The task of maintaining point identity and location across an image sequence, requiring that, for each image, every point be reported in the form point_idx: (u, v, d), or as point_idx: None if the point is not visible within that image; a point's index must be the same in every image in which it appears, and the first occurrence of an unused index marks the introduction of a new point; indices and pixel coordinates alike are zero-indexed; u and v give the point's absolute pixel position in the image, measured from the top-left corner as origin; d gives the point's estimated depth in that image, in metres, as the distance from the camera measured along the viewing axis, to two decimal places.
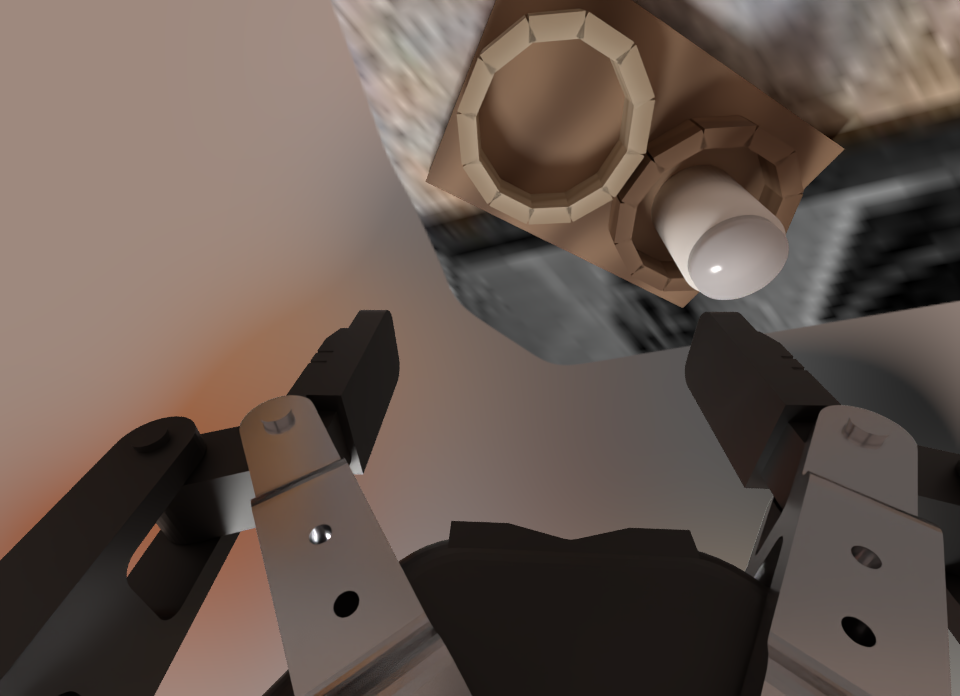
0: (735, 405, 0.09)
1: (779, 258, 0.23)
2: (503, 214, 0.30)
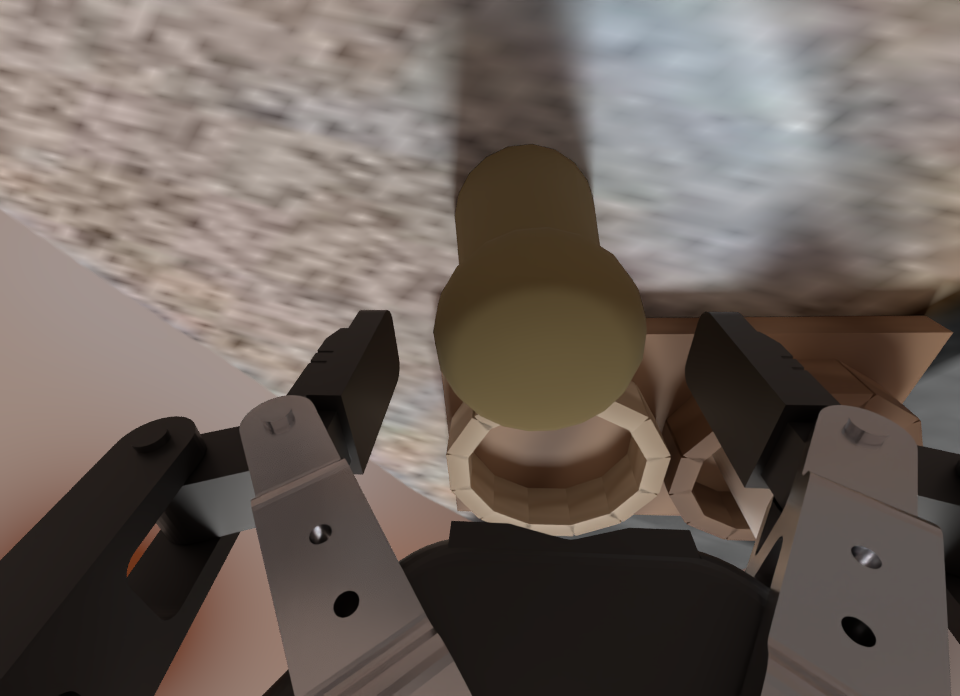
0: (735, 405, 0.09)
1: None
2: None
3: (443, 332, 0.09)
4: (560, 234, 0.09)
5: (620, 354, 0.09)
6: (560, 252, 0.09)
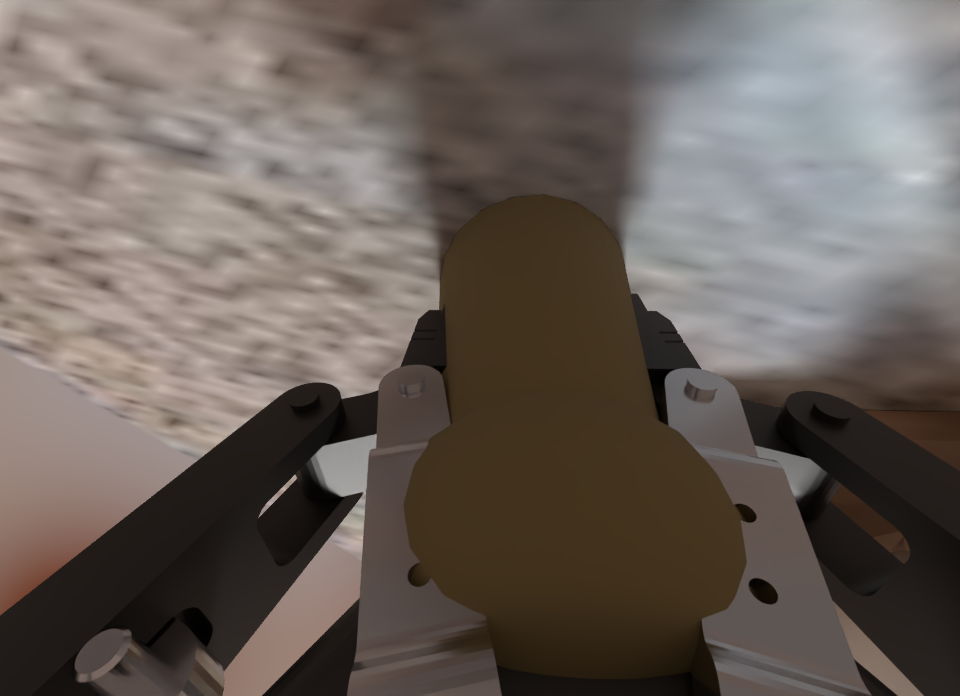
0: None
1: None
2: None
3: None
4: (610, 439, 0.05)
5: None
6: (618, 507, 0.04)
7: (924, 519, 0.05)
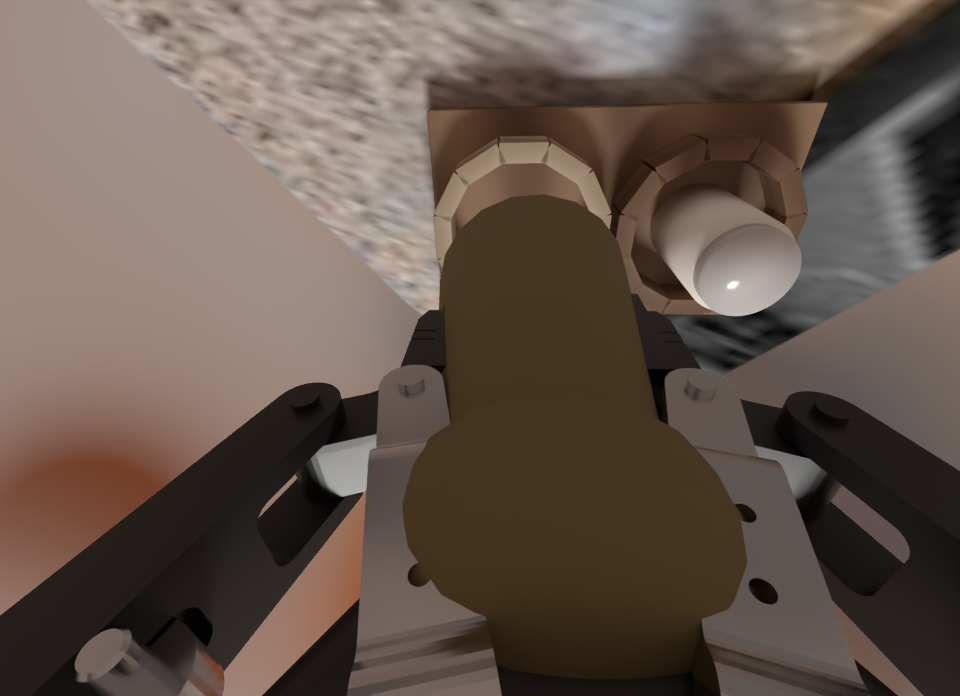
0: None
1: (791, 253, 0.21)
2: None
3: None
4: (610, 438, 0.05)
5: None
6: (617, 506, 0.04)
7: (924, 519, 0.05)
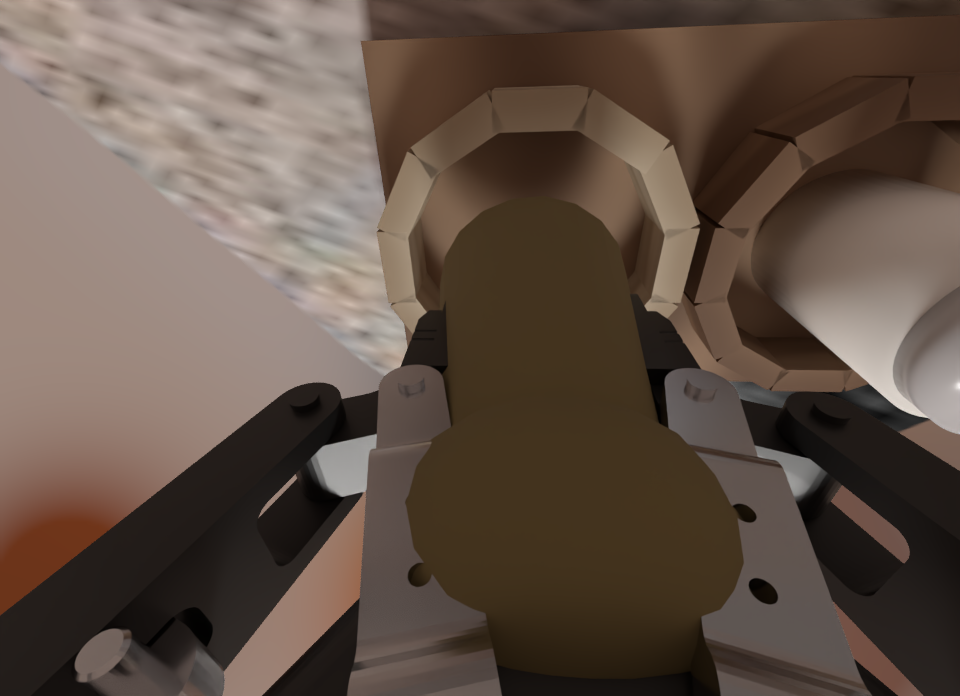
0: None
1: None
2: None
3: None
4: (610, 441, 0.05)
5: None
6: (617, 510, 0.04)
7: (924, 519, 0.05)
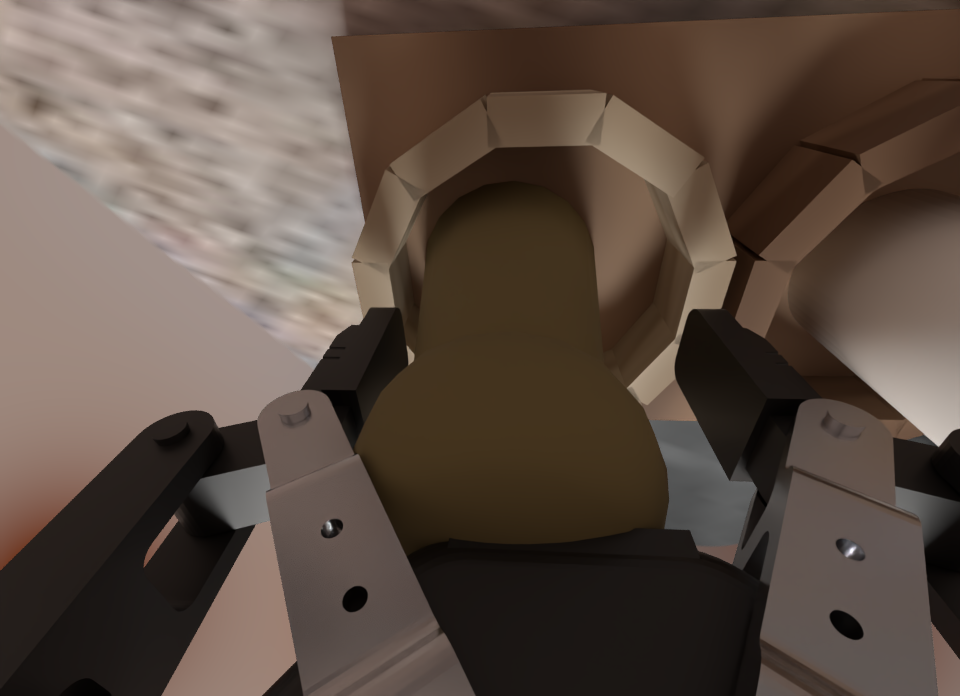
0: (721, 400, 0.09)
1: None
2: None
3: None
4: (528, 355, 0.06)
5: None
6: (525, 398, 0.05)
7: None
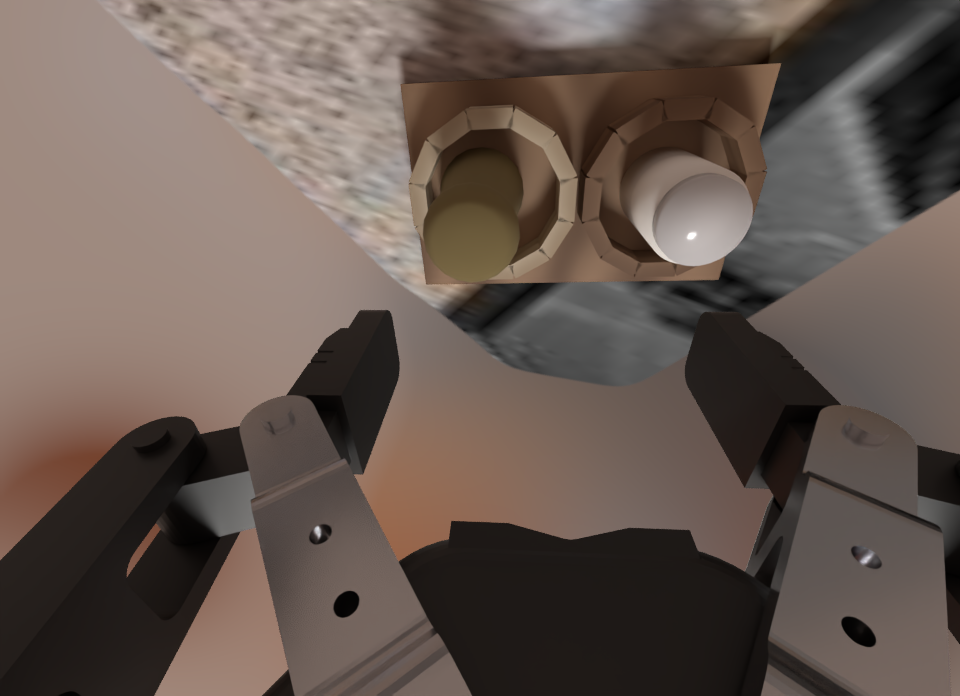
0: (735, 404, 0.09)
1: (741, 199, 0.22)
2: (498, 279, 0.34)
3: (426, 229, 0.21)
4: (475, 183, 0.21)
5: (502, 233, 0.21)
6: (472, 189, 0.20)
7: None
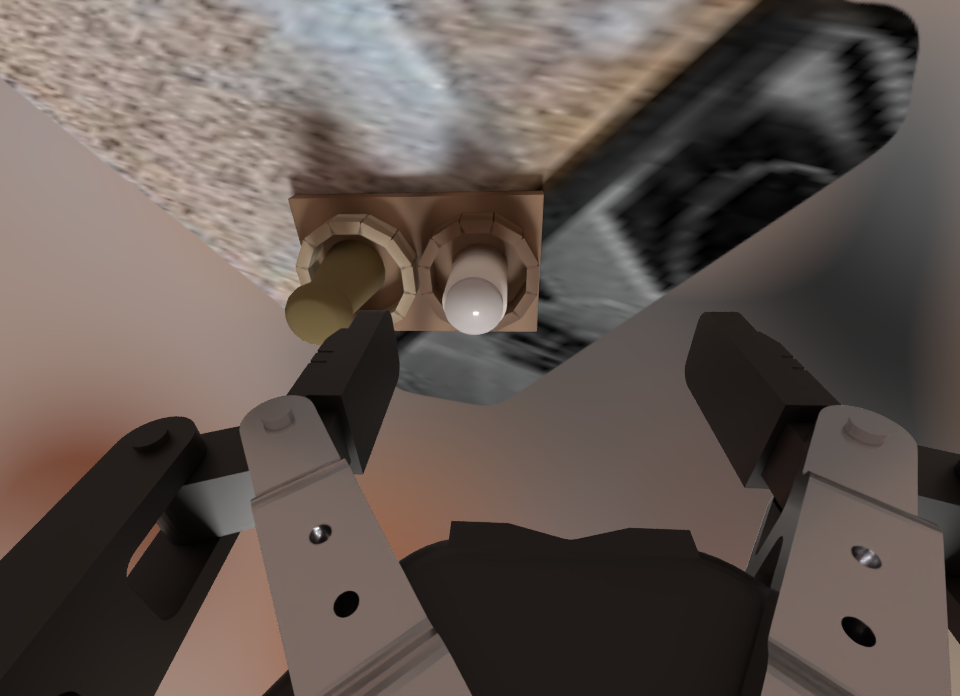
0: (735, 404, 0.09)
1: (492, 295, 0.33)
2: None
3: (285, 313, 0.33)
4: (316, 284, 0.32)
5: (332, 318, 0.32)
6: (311, 290, 0.32)
7: None
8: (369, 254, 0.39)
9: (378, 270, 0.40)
